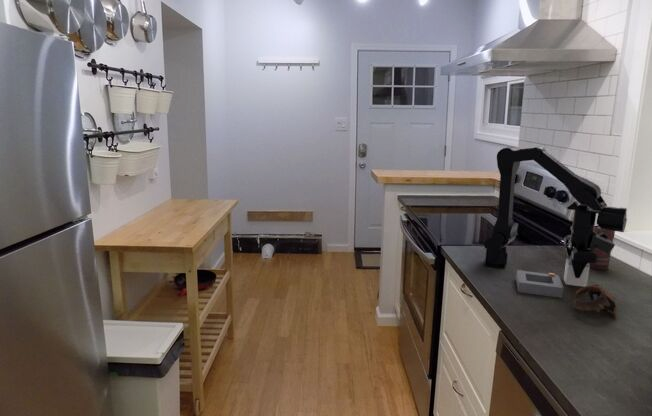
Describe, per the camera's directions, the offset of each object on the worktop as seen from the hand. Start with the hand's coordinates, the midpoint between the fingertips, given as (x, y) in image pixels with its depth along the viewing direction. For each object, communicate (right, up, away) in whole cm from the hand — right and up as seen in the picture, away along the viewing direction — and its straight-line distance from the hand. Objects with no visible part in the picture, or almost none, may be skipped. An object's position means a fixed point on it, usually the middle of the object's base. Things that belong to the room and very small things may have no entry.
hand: (575, 275), depth 138 cm
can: (+16, 0, +15) cm, 22 cm away
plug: (0, -2, +1) cm, 3 cm away
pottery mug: (-5, -7, -18) cm, 20 cm away
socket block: (-13, -3, -3) cm, 14 cm away
